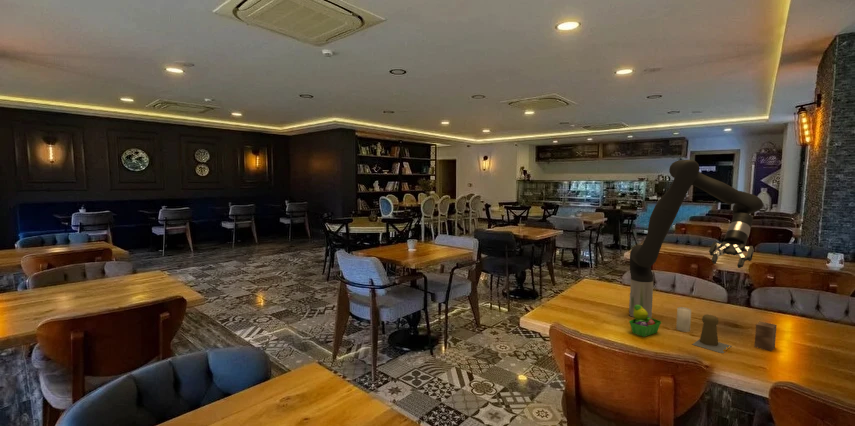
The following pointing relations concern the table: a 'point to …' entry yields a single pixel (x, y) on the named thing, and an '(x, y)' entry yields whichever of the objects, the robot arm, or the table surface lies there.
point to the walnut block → (765, 336)
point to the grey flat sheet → (718, 348)
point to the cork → (709, 330)
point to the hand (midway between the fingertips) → (726, 265)
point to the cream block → (683, 319)
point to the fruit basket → (643, 322)
